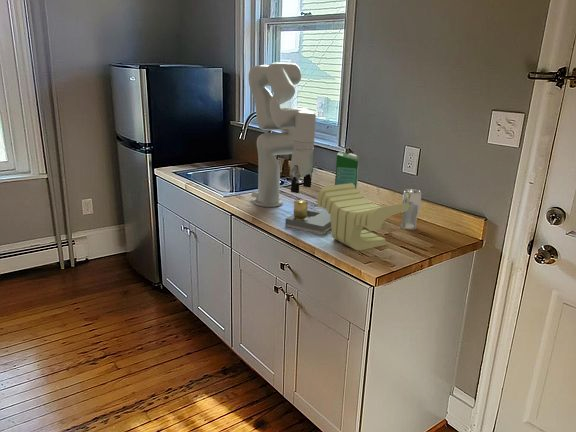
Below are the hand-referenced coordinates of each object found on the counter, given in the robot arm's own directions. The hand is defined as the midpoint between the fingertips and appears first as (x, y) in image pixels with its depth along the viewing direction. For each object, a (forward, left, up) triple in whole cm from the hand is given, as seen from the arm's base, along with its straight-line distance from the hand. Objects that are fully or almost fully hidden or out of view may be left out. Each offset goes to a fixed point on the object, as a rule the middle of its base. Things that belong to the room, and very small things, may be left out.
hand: (301, 189), depth 183 cm
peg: (0, 0, -14) cm, 14 cm away
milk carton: (+6, +31, -15) cm, 35 cm away
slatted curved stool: (+26, -4, -15) cm, 30 cm away
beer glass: (+37, +23, -15) cm, 46 cm away
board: (+4, +4, -15) cm, 16 cm away
